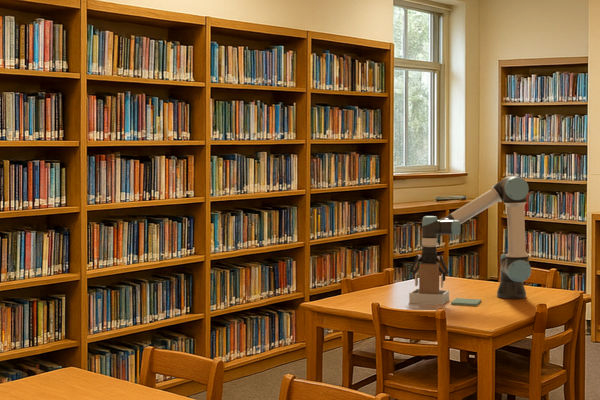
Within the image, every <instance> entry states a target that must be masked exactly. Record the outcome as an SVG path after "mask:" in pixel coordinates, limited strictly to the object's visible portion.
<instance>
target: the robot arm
mask: <svg viewBox="0 0 600 400" xmlns="http://www.w3.org/2000/svg"><path fill="white" fill-rule="evenodd" d="M529 189H530V188H529V184H528V182H527V181H526V180H525V179H524V178H523V177H521V176H517V175H509V176H506V177H504V178H502V179H501V180H500V181H498V182H497V183H496V184H494V185H492V186H491V187H490V190H487V191H486V192H484V193H483V194H481V195H479V196H477V197H476V198H475V199H473V200H471V201H469V202H467V203H466V204H464V205H463V206H461V207H459V208H458V209H456V210H455V211H453V212H451V213H450V214H448V215H446V216H444V217H441V218H440V219H438V216H436V215H435V216H434V215H425V216H423V217H422V221H421V222H422V223H421V224H422V225H421V237H422V239H421V245H422V246H421V249H422V250H421V254H416V255H415V258H414V261H413V263H412V265H411V267H410V269H409V272H410V273H412V279H413V280H414V287H417V286H419V285H418V284H419V273H418V271H419V265H420V264H421V263H429V264H438V263H440V264H441V265H440V264H439V273H440V274H441V275H440V288H444V282H445V281H446V275H449V274H450V271H449V269H448V267H447V265H446V262H445V261H444V257H443V255H438V253H437V251H438V250H437V248H438V247H437V244H438V243H437V242H438V239H437V238H438V237H437V236H438V235H453V236H455V235H460V234H461V225H462V224H463V223H465V222H467V221H468V220H469V219H470V220H471V219H472V218H474V217H475V216H476V215H479V214H480V213H482V212H483V211H485V210H486V209H489V208H490V207H492V206H493V205H495V204H497V203H502V202H503V204H504V205H505V207H506V217H507V218H506V220H507V244H508V245H507V250H508V252H507V253H502V254H501V255H500V260H499V261H500V273H499V274H500V281H499V286H498V287H497V290H496V297H498V298H502V299H511V300H516V299H517V300H518V299H525V298H527V292H526V288H525V285H524V282H525V281H527V280H528V279H529V278H530V277H531V273H532V266H531V264H530V255H529V254H528V253H527V251H526V227H525V226H526V223H525V222H526V221H525V205H526V204H528V203H527V202H528V197H527V196H528V194H529ZM420 259H421V260H422V261H421V262H420V263H419V265H417V264H418V262H419V260H420ZM437 259H438V260H439V261H440V262H438V261H437ZM416 265H417V266H416ZM441 266H442V267H441Z"/></svg>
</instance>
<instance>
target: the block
mask: <svg viewBox="0 0 600 400" xmlns="http://www.w3.org/2000/svg"><path fill="white" fill-rule="evenodd" d="M420 263H421V262H420ZM420 263H419V264H420ZM439 265H440V262H438V264H429V263H421V264H420V265H418V266H419V270H418V271H419V273H418V284H419V285H418V289H419V293H420V294H438V295H439V290H440V271H439Z"/></svg>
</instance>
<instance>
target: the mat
mask: <svg viewBox="0 0 600 400" xmlns="http://www.w3.org/2000/svg"><path fill="white" fill-rule="evenodd" d="M481 303H482V299H477V298H476V299H475V298H464V297H463V298H462V297H456V298H454V299H453V300H452V301H451V302H450V305H452V306H467V307H468V306H469V307H478V306H479V305H480V304H481Z"/></svg>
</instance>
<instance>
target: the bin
mask: <svg viewBox="0 0 600 400" xmlns="http://www.w3.org/2000/svg"><path fill="white" fill-rule="evenodd" d="M408 294H409V296H408V298H409V299H408V301H409V302H408V303H411V304H426V305H441V306H443V305H445V304H446V303H447V302H448V301H450V290H445V289H444V290H443V289H439V295H438V294H420V293H419V288H415V289H413V290H412V291H410V292H409V293H408Z"/></svg>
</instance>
